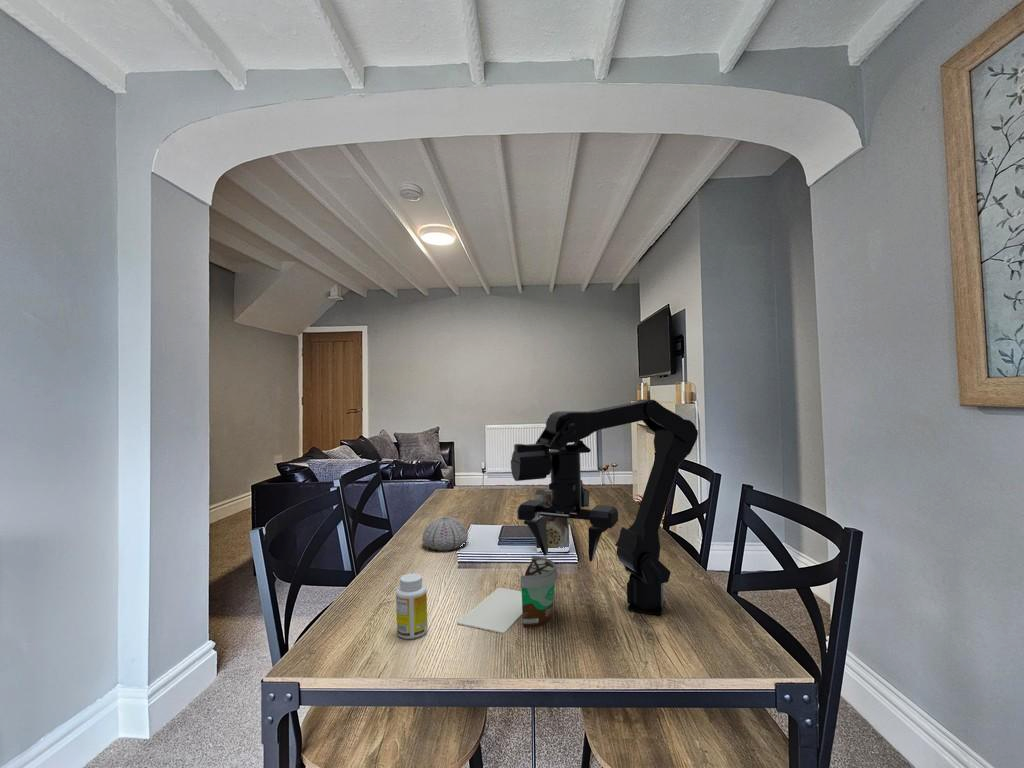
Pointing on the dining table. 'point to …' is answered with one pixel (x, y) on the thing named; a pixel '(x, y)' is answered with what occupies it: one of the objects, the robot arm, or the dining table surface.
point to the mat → (496, 611)
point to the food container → (538, 592)
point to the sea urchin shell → (445, 534)
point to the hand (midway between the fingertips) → (568, 557)
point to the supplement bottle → (411, 607)
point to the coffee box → (554, 524)
